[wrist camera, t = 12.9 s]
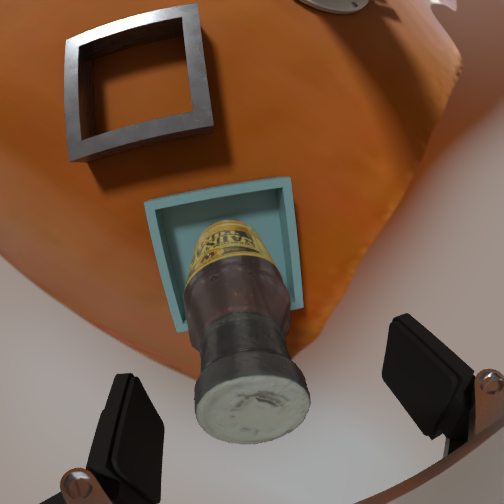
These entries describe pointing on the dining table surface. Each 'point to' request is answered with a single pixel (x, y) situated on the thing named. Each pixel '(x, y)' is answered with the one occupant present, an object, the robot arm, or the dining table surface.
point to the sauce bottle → (242, 338)
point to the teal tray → (213, 210)
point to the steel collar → (118, 38)
